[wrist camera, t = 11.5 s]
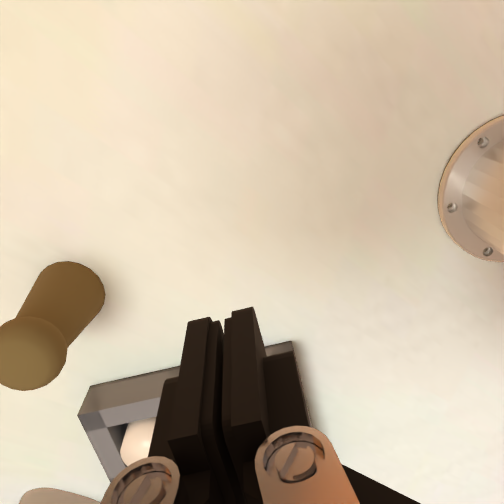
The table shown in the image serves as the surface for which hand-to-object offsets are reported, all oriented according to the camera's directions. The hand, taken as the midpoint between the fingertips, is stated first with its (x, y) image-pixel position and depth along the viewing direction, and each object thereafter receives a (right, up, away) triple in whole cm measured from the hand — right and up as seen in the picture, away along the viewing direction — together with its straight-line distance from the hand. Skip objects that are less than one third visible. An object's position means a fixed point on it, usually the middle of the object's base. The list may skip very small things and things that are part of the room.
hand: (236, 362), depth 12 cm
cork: (-16, -1, +29) cm, 33 cm away
